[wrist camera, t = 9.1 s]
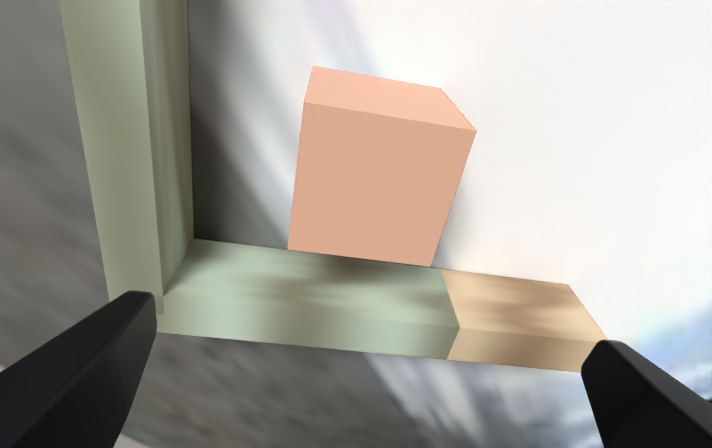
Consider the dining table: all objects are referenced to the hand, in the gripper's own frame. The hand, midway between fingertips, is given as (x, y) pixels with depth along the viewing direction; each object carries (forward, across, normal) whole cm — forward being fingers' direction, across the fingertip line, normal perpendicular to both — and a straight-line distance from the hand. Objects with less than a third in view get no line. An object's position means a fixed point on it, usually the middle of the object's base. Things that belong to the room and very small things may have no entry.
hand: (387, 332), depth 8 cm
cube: (+11, 0, 0) cm, 11 cm away
